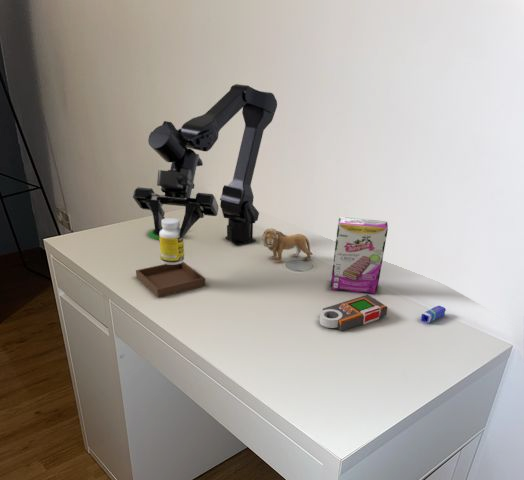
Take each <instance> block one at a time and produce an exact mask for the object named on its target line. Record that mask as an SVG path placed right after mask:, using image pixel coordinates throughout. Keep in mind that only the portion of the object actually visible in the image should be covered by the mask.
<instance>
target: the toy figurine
mask: <svg viewBox="0 0 524 480" xmlns="http://www.w3.org/2000/svg"><path fill="white" fill-rule="evenodd" d="M161 229H162V227H161ZM148 236H149V237H150V238H151V239H154V240H159V236H157V235H156V233H155V228H154V229H152V230H150V231H149V232H148ZM159 241H160V240H159Z"/></svg>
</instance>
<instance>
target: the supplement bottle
mask: <svg viewBox="0 0 524 480" xmlns="http://www.w3.org/2000/svg"><path fill="white" fill-rule="evenodd" d="M161 223H162V229H161V230H160V231H159V252H160V254H159V255H160V261H161V263H162V264H167V265H177V264H180V263H182V262H184V261H185V246H184V245H185V244H184V243H185V242H184V237H183V238H180V230H181V227H180V225H181V224H180V223H181V222H180V219H179V218H177V217H164V219H162V221H161Z"/></svg>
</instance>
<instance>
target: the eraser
mask: <svg viewBox="0 0 524 480" xmlns="http://www.w3.org/2000/svg"><path fill="white" fill-rule="evenodd" d="M446 310H447V309H446V307H444V306H442V305H437V306H433V307H432V308H430V309H428V310H426V311H424V312H422V313H421V316H420V321H422V322H424V323H426V324H430V323H431V322H433V321H435V320H437V319H439V318H442V317H444V316H445V314H446Z"/></svg>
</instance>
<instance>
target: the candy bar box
mask: <svg viewBox="0 0 524 480" xmlns="http://www.w3.org/2000/svg"><path fill="white" fill-rule="evenodd" d="M337 220H338V221H337V229H336V236H335V245H334V252H333V253H334V254H333V261H332V268H331V276H330V277H331V278H330V290H334V291H344V292H355V293H365V294H372V295H373V294H374V295H376V294H377V293H378V288H379V282H380V276H381V271H382V265H383V259H384V253H385V247H386V241H387V237H388V231H389V228H388V225H389V224H388V221H386V220H378V219H377V220H375V219H367V218H366V219H365V218H355V217H354V218H353V217H346V216H345V217H344V216H338V219H337Z"/></svg>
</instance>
